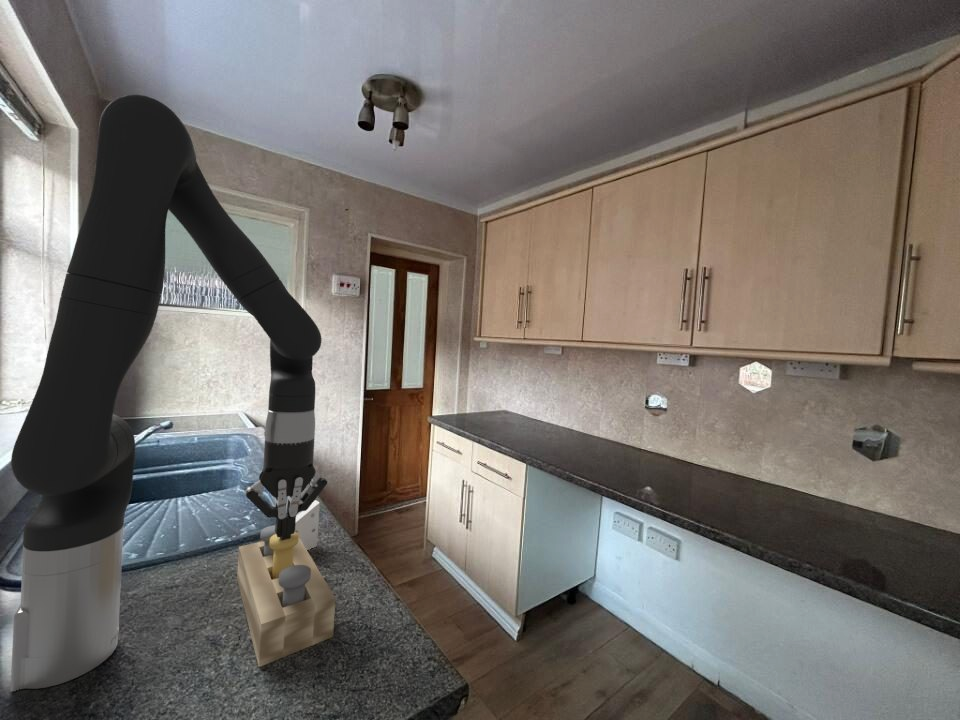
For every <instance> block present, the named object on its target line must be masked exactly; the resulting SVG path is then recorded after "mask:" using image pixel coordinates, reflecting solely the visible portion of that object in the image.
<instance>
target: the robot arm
mask: <svg viewBox="0 0 960 720" xmlns="http://www.w3.org/2000/svg"><path fill="white" fill-rule="evenodd" d="M96 145H97V146H96V156H95V157H96V158H95V166H94V173H93V174H94V176H93V183H92V187H91V188H92V190H91V192H90V193H91V194H90V197H89V201H88V204H87V207H86V211H85V213H84V215H83V218H82V221H81V224H80V227H79V230H78V234H77V237H76V241H75V244H74V248H73V252H72V255H71V258H70V261H69V264H68V268H67V271H66V274H65V279H64V281H63V285H62V288H61V289H62V290H61V293H60V297H59V302H58V307H57V308H58V309H57V313H56V316H55V318H56V319H55V322H54V325H53V329H52V334H51V337H50V341H49V345H48V350H47V352H46V358H45V362H44V363H45V364H44V367H43V371H42V374H41V377H40V381H39V384H38V387H37V389H36V392H35V395H34V397H33V399H32V401H31V404H30V407H29V408H28V411H27V414H26V416H25V419H24V421H23V423H22V426H21V428H20V430H19V433H18V435H17V437H16V440H15V442H14V446H13V449H12V453H11V458H10V459H11V461H10V463H11V464H10V465H11V470H12V473H13V476H14V477H15V479H16V481H17V482H18V483H19V484H20V485H21V486H22V487H23V488H24V489H26V490H28V491H29V492H31V493H33V494H36V495H39V496H42V497H41V500H40V501H39V503H38V505H37V507H36V509H35V510H34V511H33V513H32V514H31V515H30V516H29V518H28V520H27V521H26V523H25V525H24V528H23V535H22V539H23V540H22V545H23V546H22V547H23V548H22V564H21V566H22V568H21V582H20V583H21V584H20V585H21V587H20V588H21V589H20V604H19V607H18V608H17V610H16V611H15V612H14V613H15V614H14V615H13V627H12V628H13V629H12V632H13V633H12V651H11V652H12V654H11V670H10V671H11V672H10V673H11V674H10V675H11V676H10V692H11V693H13V692H12V691H14V692H16V690H17V691H20V690H23V689H33V690H34V689H35V690H37V689H44V688H50V687H54V686H57V685H61V684H64V683H67V682H70V681H72V680H74V679H77V678H79V677H81V676H83V675H85V674H87V673H88V672H90V671H92V670H93V669H95V668H97V667H98V666H100V665H101V664H102V663H103V662H105V661H107V659H108V658H109V657H110V656H112V654H114V652H115V650H116V649H117V646H118V645H119V643H118V642H119V631H120V627H119V623H120V606H121V604H120V603H121V591H122V590H121V589H122V588H121V584H122V570H123V569H122V568H123V567H122V566H123V550H124V548H123V547H124V529H125V528H124V527H125V515H126V511H127V507H128V506H129V503H130V501H131V497H132V492H133V491H132V490H133V480H134V472H135V471H134V469H135V462H136V461H135V459H136V440H135V435H134V432H133V429H132V428H131V426H130V424H129V423H128V422H127V421H126V420H125V419H123V418H122V417H120V416H118V415H117V414H115V413H114V410H115V407H116V406H115V405H116V401H117V397H118V393H119V390H120V387H121V385H122V383H123V380H124V378H125V376H126V374H127V373H128V371H129V370H130V368H131V367H132V365H133V364H134V362H135V360H136V358H137V357H138V355H139V354H140V352H141V350H142V349H143V347H144V346H145V344H146V342H147V340H148V338H149V336H150V334H151V332H152V330H153V327H154V325H155V321H156V318H157V314H158V310H159V306H160V302H161V297H162V294H163V289H164V288H163V287H164V283H165V272H166V269H165V268H166V228H167V227H166V225H167V217H168V212H170V213H171V214H172V215H173V216H174V218H175V219H176V220H177V221H178V222H179V224H181V226H182V227H183V228H184V229H185V230H186V232H187V233H188V235H189V236H190V237H191V238H192V240H193V241H194V243H195V244H196V245H197V247H198V248H199V250H200V251H201V253H202V254H203V256H204V257H205V259H206V260H207V262H208V263H209V264H210V266H211V267H212V269H213V270H214V272H215V273H216V274H217V276H218V277H219V278H220V280H221V282H222V283H223V284H224V285H225V287H227V289H228V290H229V292H231V294H232V295H233V297H234V298H235V299H236V300H237V301H238V303H239V304H240V306H241V307H242V308H243V309H244V310H245V311H246V312H247V313H248V314H249V315H252V316H253V318H254V319H255V320H256V321H257V323H258V324H259V325H260V327H261V329H262V330H263V331H264V333H265V334H266V335H267V337H268V338H269V339H270V341H269V360H270V361H269V362H270V363H269V364H270V381H269V382H270V383H269V384H270V385H269V392H268V405H267V406H268V409H267V415H266V416H267V417H266V421H265V429H264V431H263V433H264V434H263V436H264V448H263V449H264V452H263V464H262V465H263V467H262V471H261V472H260V474H259V475H258V476H259V477H258V480H257V481H256V482H255V483H253V484H252V485H248V486H246V487H245V488H244V490H243V491H244V494H245V497H246V498H247V499H248V500H249V501H250V502H251V503H252V504H253V505H254V506H256V508H257V509H259V511H260V512H261V513H263V515H264V516H265V517H267V518H268V519H269V518H274V519H275V522H274V523H275V524H274V525H275V533H276V535H277V537H280V539H281V540H284V539H289V538H291V534H294V532H295V523H296V516H297V515H298V514H299V513H300V512H302V511H306V510H307V509H308V508H309V507H310V505H311V504H312V503H313V502H314V501H315V500H316V499H317V498H318V496H319V495H320V494H321V492H322V491H323V490H324V488H326V486H327V485H328V480H327V479H326V478H325V477H324V476H323V475H319V474H317V473H316V469H315V467H314V452H315V451H314V450H315V438H316V437H315V434H316V415H315V413H316V412H315V405H316V381H315V378H314V376H313V360H314V359H313V358H314V356H315V355H316V354H317V353H318V351H319V350H320V348H321V345H322V334H321V331H320V329H319V327H318V326H317V324H316V322H315V321H314V320H313V319H312V317H311V315H309V313H308V312H307V311H306V310H305V309H304V308H303V306H301V304H300V303H299V302H298V301H297V300H296V298H294V297H293V296H292V295H291V294H290V292H289V291H288V289H287V287H286V286H285V285H284V283H283V282H282V280H281V278H280V277H279V276H278V274H277V273H276V271H275V270H274V269H273V267H272V266H271V264H270V263H269V261H268V260H267V259H266V258H265V256H264V255H263V254H262V253H261V251H260V250H259V249H258V248H257V246H256V245H255V244H254V243H253V242H252V241H251V239H250V238H249V237H248V236H247V234H246V233H245V232H243V230H242V229H241V228H240V227H239V226H238V224H236V222H235V221H234V220H233V219H232V218H231V216H230V215H229V214H228V213H227V211H226V210H225V209H224V208H223V206H222V205H221V203H220V202H219V200H218V199H217V197H216V196H215V194H214V193H213V191H212V189H211V187H210V185H209V184H208V182H207V180H206V178H205V176H204V174H203V172H202V170H201V169H200V166H199V164H198V162H197V155H196V151H195V148H194V144H193V140H192V137H191V135H190V133H189V131H188V130H187V128H186V125H185V124H184V123H183V121H182V120H181V119H180V117H179V116H177V114H176V113H175V112H174V111H173V110H172V109H171V108H169V107H168V106H167V105H166V104H164V103H163V102H161V101H160V100H157V99H155V98H153V97H149V96H146V95H142V94H141V95H140V94H128V95H127V94H126V95H123V96H120V97H118V98H116V99H114V100H112V101H111V102H109V104H107V105H106V106H105V108H104V110H103V111H102V112H101V115H100V118H99V123H98V133H97V144H96ZM308 485H309V487H308ZM263 487H264V489H265V490H267V492H268V493H269V494H270V496H271V497H273V498H274V506H271V504H270V503H268V501H266V499H265V498H264V497H263V495H264V490H263ZM307 487H308V488H307ZM306 488H307V490H305V489H306ZM304 490H305V492H304ZM303 492H304V493H303ZM302 493H303V495H302V496H301V494H302ZM19 689H20V690H19Z"/></svg>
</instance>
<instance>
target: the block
mask: <svg viewBox="0 0 960 720" xmlns="http://www.w3.org/2000/svg"><path fill="white" fill-rule="evenodd" d="M237 555H238V556H237V557H238V558H237V571H236V572H237V575H236V580H237V584H238V588H239V592H240V595H241V600H242V603H243V609H244V612H245V616H246V620H247V621H246V622H247V624H248V628H249V633H250V637H251V641H252V646H253V650H254V652H255V657H256V662H257V666H258V668H260V667H263V666H265V665H268V664H270V663H273V662H275V661H277V660H280V659H282V658H285V657H288V656H290V655H292V654H295V653H297V652H299V651H301V650H305V649H307V648H308V647H311V646H314V645H316V644H320V643H322V642H324V641H326V640H328V639H329V640H330V638H333V637H334V628H335V627H334V626H335V613H336V612H335V609H336V596H335V595H334V593H333V592H332V590H331V589H330V587H329V585H328V583H327V582H326V579H324V576H323V575H322V573H321V572H320V570H319V568H318V567H317V565H316V563H315V561H314V559H313V558H312V556H311V555H310V553H309V551H307V550H306V548H305V546H304V545H303V543H302V541H301V540H300V538H299V540H298V543H297V545H295V546H294V549H293V566H294V565H306V566H308V567H310V569H311V577H310V580H309V581H308V582H307V583H306V584H305V595H304V601H301V602H298V603H295V604H292V605H289V606H286V607H284V608H282V604H283V587H281V586H280V585H279V578H276V579H273V580H272V572H273V555H274V554H273V555H269V556H265V557H264V541H263V540H261V541H258V542H254V543H249V544H245V545H239V547H238V554H237Z"/></svg>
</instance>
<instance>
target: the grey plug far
mask: <svg viewBox="0 0 960 720" xmlns="http://www.w3.org/2000/svg"><path fill="white" fill-rule="evenodd" d="M274 534H276V533H275V524H274V525H273V524H272V525H270V526H266V527H264V528H263V529H261V531H260V537H259V538H260V540H261V541H264V557H265V556H269V555H273V554H274V549H271V548H270V547H269V543H270V538H271V536H273V535H274Z"/></svg>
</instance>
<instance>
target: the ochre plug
mask: <svg viewBox="0 0 960 720" xmlns="http://www.w3.org/2000/svg"><path fill="white" fill-rule="evenodd" d="M298 540H299V534H298V533H296V532H294V534H291V538H289V539H284V540H281V539H280V537H277V535H276V534H274V535H273V536H271V538H270V543H269V547H270V548H271V549H274V555H273V572H272V580H273V579H276V578H279V574H280V572H281V571H283V570H284V569H286V568H288V567H290V566H293V549H294V546H295V545H297V543H298Z"/></svg>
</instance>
